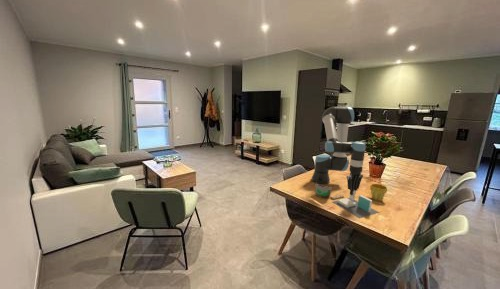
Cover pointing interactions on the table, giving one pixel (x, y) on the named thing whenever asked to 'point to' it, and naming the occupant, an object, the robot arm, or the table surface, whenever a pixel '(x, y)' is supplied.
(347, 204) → the tile
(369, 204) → the tile
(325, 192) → the food container
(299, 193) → the table surface
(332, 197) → the turner
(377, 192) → the plant pot
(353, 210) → the mat
